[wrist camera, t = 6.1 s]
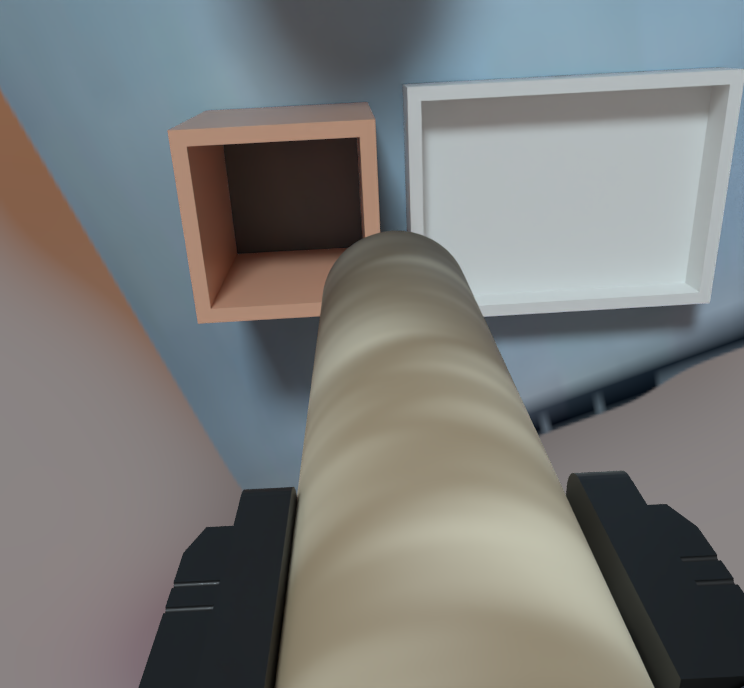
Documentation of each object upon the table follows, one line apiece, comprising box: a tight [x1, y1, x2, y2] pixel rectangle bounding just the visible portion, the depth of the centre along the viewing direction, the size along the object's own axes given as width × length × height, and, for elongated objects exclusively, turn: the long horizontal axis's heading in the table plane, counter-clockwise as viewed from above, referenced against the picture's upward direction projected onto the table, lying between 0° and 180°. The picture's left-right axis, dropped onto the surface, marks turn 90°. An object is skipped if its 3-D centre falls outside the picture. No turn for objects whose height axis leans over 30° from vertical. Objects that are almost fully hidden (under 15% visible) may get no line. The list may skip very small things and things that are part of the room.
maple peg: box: [274, 231, 654, 688], centre depth 13 cm, size 4×4×14 cm
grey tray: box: [403, 67, 744, 317], centre depth 34 cm, size 15×11×2 cm
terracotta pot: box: [168, 102, 380, 324], centre depth 31 cm, size 8×8×8 cm
